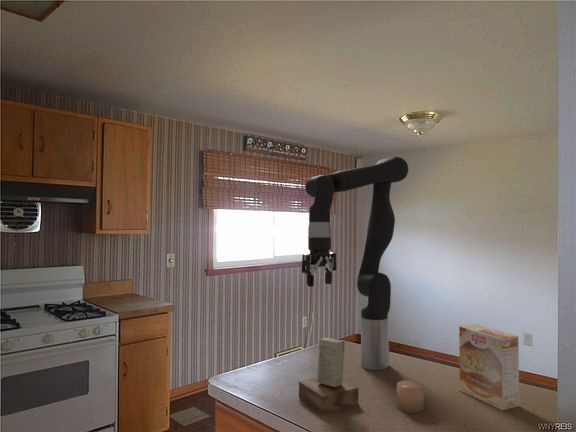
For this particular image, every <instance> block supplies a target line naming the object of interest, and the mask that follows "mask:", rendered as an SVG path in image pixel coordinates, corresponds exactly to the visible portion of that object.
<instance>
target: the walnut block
mask: <svg viewBox="0 0 576 432" xmlns="http://www.w3.org/2000/svg"><path fill="white" fill-rule="evenodd" d="M298 384H299V385H298V398H299V399H300V400H302V401H303V402H305V403H306V404H308V405H309V406H310V407H312V408H313V409H315V410H316V411H318V412H319V413H321V414H322V415H325V414H328V413H332V412H335V411H336V412H337V411H339V410H343V409H347V408H350V407H353V406H357V405H359V387H357V386H356V385H354V384H352V383H350V382H349V381H346V380H345V379H343V380H342V385H340V386H337V387H332V386H329V385H325V384H322V383H318V382H317V377H314V378H310V379H305V380H301V381H299V382H298Z"/></svg>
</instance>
